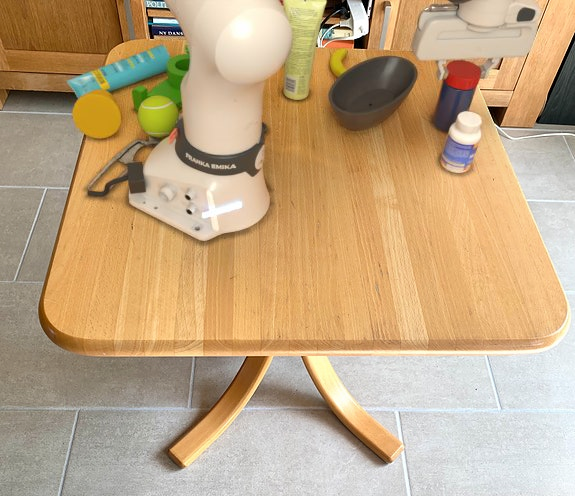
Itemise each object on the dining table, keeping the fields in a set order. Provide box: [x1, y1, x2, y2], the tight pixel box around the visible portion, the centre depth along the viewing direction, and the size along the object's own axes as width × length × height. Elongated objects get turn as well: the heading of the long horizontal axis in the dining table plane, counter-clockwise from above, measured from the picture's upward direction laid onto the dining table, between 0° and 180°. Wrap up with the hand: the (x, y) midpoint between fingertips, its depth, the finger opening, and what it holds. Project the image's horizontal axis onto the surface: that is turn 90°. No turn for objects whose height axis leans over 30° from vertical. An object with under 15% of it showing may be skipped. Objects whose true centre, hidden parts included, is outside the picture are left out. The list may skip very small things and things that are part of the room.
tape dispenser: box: [131, 53, 190, 112], centre depth 114 cm, size 15×7×5 cm, turn 148°
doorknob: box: [71, 89, 123, 140], centre depth 107 cm, size 8×8×8 cm
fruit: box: [329, 47, 349, 78], centre depth 124 cm, size 10×2×5 cm
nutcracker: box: [86, 135, 161, 191], centre depth 103 cm, size 16×1×5 cm
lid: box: [444, 59, 481, 90], centre depth 108 cm, size 6×6×2 cm
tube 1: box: [66, 44, 172, 100], centre depth 117 cm, size 7×5×19 cm
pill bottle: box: [440, 110, 483, 174], centre depth 104 cm, size 5×5×10 cm
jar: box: [431, 80, 478, 133], centre depth 111 cm, size 6×6×11 cm
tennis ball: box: [137, 95, 180, 138], centre depth 105 cm, size 7×7×7 cm
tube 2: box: [282, 0, 328, 101], centre depth 111 cm, size 6×5×20 cm
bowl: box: [328, 55, 419, 132], centre depth 114 cm, size 12×22×6 cm, turn 140°
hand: (461, 77), depth 108 cm, fingers closed on lid, 6 cm apart
